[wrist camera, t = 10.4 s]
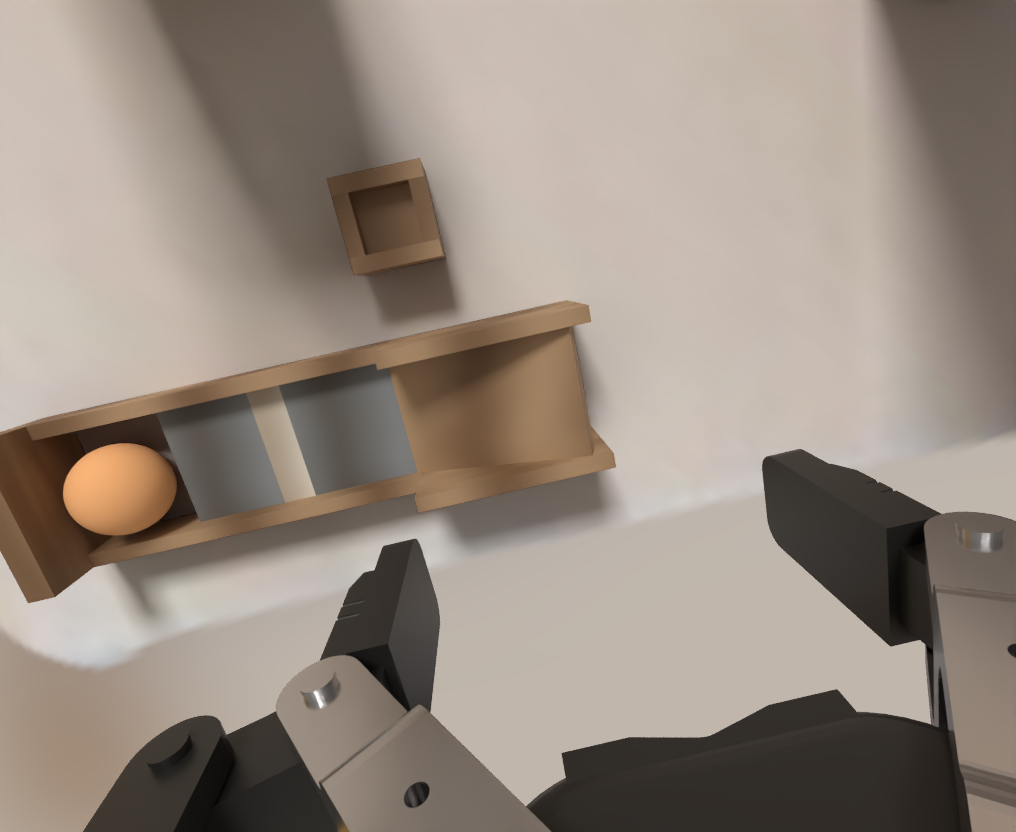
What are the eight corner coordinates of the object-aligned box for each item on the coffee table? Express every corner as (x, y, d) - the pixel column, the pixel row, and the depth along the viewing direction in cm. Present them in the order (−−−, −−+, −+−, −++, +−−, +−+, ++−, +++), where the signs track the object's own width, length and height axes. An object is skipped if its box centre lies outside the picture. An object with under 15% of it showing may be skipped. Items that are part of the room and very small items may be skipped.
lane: (566, 300, 27) (588, 305, 22) (590, 435, 29) (616, 467, 24) (42, 418, 26) (-54, 449, 21) (103, 547, 28) (28, 603, 23)
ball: (20, 471, 23) (110, 439, 27) (64, 558, 24) (145, 514, 28) (94, 455, 22) (177, 424, 26) (137, 547, 23) (210, 503, 27)
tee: (425, 171, 25) (419, 158, 22) (445, 257, 26) (443, 255, 23) (342, 189, 25) (326, 178, 22) (365, 275, 26) (353, 275, 23)
